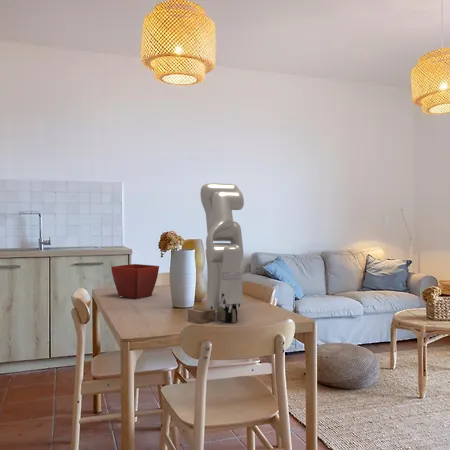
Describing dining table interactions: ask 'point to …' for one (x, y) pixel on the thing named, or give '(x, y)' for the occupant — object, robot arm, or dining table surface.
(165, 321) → the dining table surface
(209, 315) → the tan box
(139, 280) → the plant pot
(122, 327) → the dining table surface
